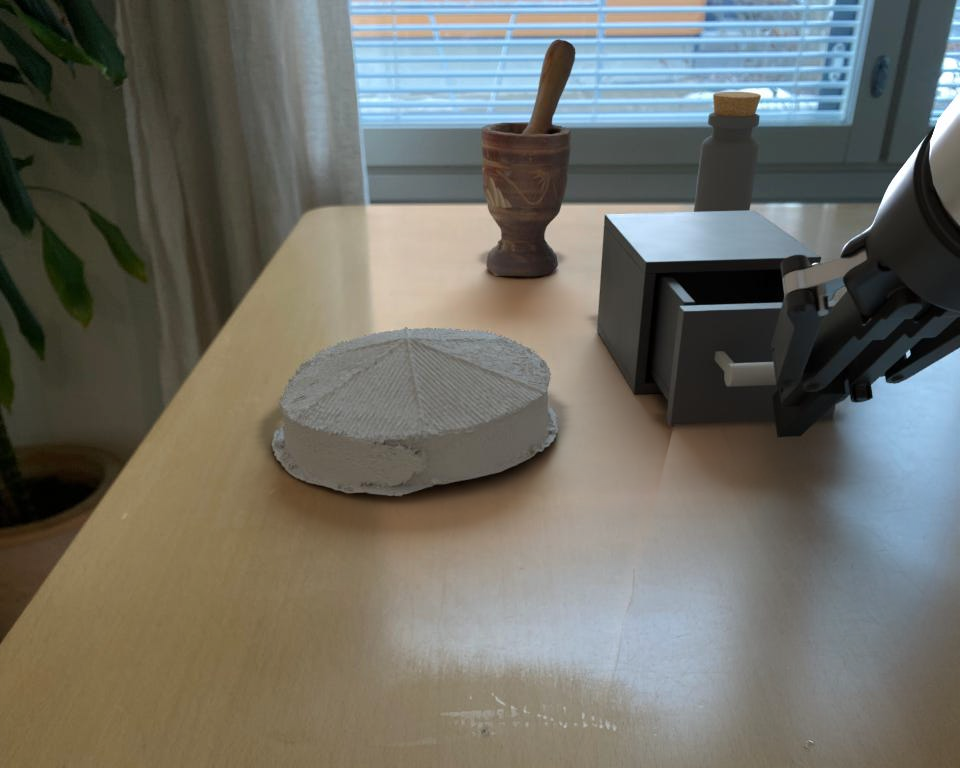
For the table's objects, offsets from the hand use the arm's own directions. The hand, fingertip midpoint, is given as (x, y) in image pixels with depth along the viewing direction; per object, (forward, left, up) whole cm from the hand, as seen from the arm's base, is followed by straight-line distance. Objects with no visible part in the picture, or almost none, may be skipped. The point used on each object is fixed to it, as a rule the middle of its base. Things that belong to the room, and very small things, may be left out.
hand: (786, 416), depth 61 cm
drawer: (+3, -9, -3) cm, 10 cm away
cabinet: (+7, -19, -4) cm, 21 cm away
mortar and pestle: (+26, -43, -4) cm, 51 cm away
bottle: (+7, -54, -4) cm, 55 cm away
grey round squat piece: (+24, +1, -4) cm, 24 cm away
